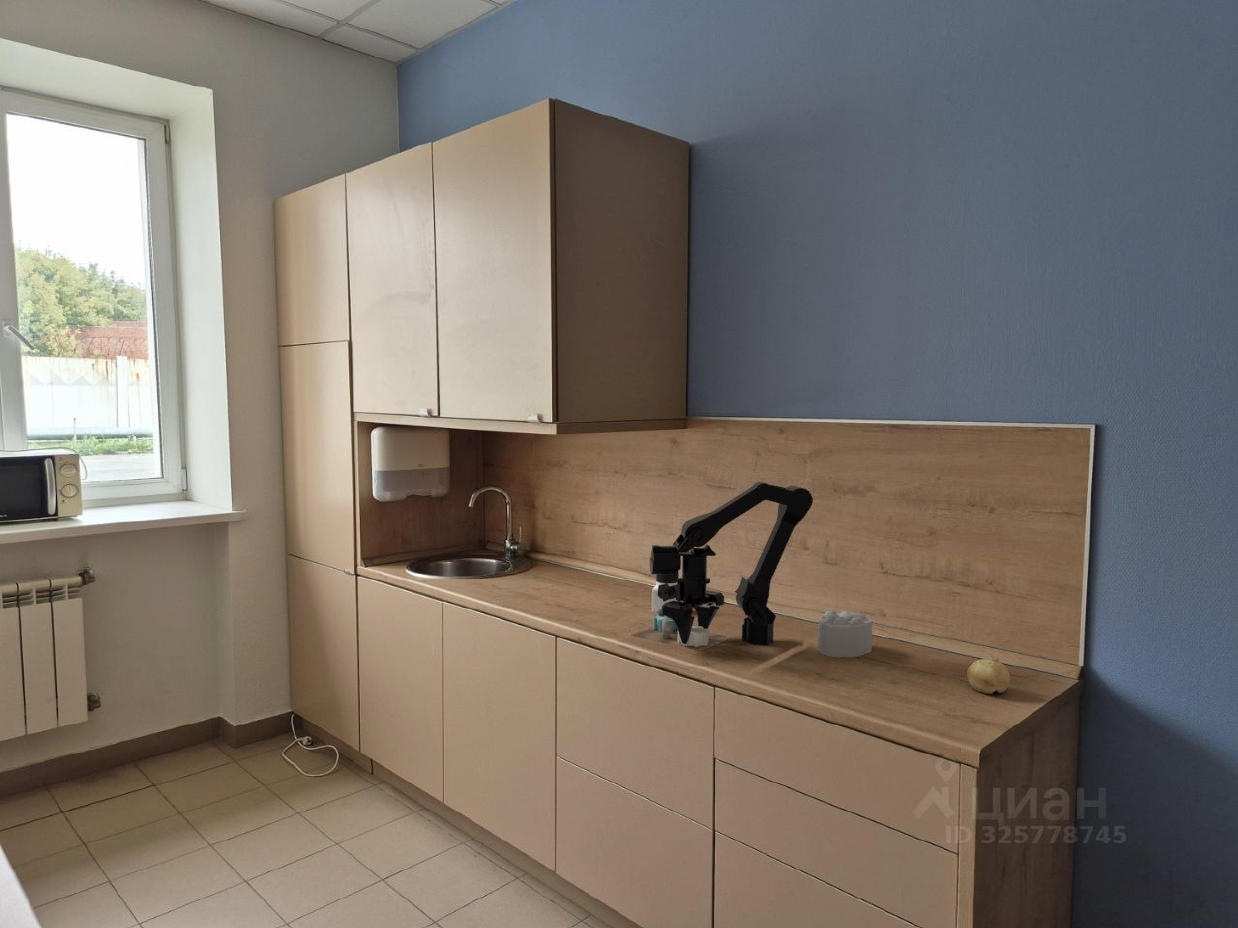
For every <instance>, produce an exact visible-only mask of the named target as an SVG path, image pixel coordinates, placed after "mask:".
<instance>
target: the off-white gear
mask: <svg viewBox="0 0 1238 928" xmlns="http://www.w3.org/2000/svg"><path fill="white" fill-rule="evenodd" d="M709 633H710V630H709V628H708V629H705V628H703V627H701V626H699V627H698V626H696V625H695V626H694V625H692V629H691V632H690V636H689V639H688V642H687V644H683V643H682V641H681V638H680V635H679V632H678V643H681V644H683V646H694V647H699V646H702V645H705V646H706V645H707V642H709Z"/></svg>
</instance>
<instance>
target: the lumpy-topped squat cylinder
mask: <svg viewBox="0 0 1238 928" xmlns="http://www.w3.org/2000/svg"><path fill="white" fill-rule="evenodd" d="M817 627H818V631H817V632H818V636H817V652H818V651H819V652H820V653H821V655H822V654H823V655H822V656H825V655H826V657H830V656H832V657H831V658H840V657H846V658H858V657H862V656H864V654H865V655H867V653H868V654H870V653H871V652H872V651H873V648H872V647H873V620H872V619H871V618H868V617H867V616H865V614H862V613H858V612H853V611H850V610H843V611H841V612H840V613H837V612H836V611H835V610H828V611H826V612H825V613H824V614H823V616H821V617H820V618H819V620H818V626H817ZM819 652H818V653H819ZM869 652H870V653H869ZM820 653H819V654H820ZM861 655H862V656H861ZM857 656H858V657H857Z"/></svg>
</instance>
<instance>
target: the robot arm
mask: <svg viewBox="0 0 1238 928" xmlns="http://www.w3.org/2000/svg"><path fill="white" fill-rule="evenodd" d="M764 501H769V502H772V503H777V504H778V507H777V517H776V521H775V523H774V525H773V528H772V529H771V532H770V534H769V537H768V539H767V541H766V544H765V545H764V548H763V550H762V552H761V555H760V557H759V559H758V561H757V564H756V566H755V568H754V570H753V572H752V573H751V575H750V576H749V577H748V578H746V577H744V576H741V578H740V581H739V585H738V587H737V589H735V591H734V593H735V594H736V596H735V601H736V604H737V606H738V607H739V608H740V610H742V612H743V613H744V616H746V617H745V618H743V623H742V624H741V625H742V626H741V641H744V642H746V643H747V644H750V645H753V646H754V645H756V646H768V645H771V644H773V643H774V625H775V624H774V623H775V620H776V618H777V616H776V614H775V613H774V612H773V611H772V610H771V609H770V608H769V607H768V606H767V604H768V602H769V601H768V600H769V598H770V597H769V596H770V590H771V588H770V587H771V581H772V579H773V577H774V574H775V572H776V570H777V568H778V565H779V563H780V562H781V559H782V556H783V555H784V553H785V550H786V547H787V546H788V543H789V540H790V538H791V536H792V534H793V531H794V529H795V527H797V525H798V524H799V523H800V522H801V521H802V520H803V519H804V518H805V517H806V515H807V513H808V512H809V510H810V509H811V507H812V506H813V503H814V498H813V495H812V493H811V492H810V490H808V489H806V488H804V487H801V486H798V485H789V486H786V487H783V486H779V485H776V484H775V485H774V484H770V483H766V482H764V481H757V482H755V483H754V484H753V485H752V486H751V487H750V488H747V489H746V490H744V491H743V492H741V493H739V494H738V495H737V496H735V497H733V498H731V499H730V500H729V501H726V503H724V504H723V505H721V506H719V507H717V508H716V509H714V510H712V511H710V512H707V513H704V514H701V515H697V516H695V517H693V518H690V519H689V520H686V521H685V522H684V523H683V524H682V526H681V529H680V530H681V533H679V535H678V537H677V538H676V539H675V540H674V542H673V543H672V545H659V544H652V545H651V552H650V557H649V572H650V575H653V576H654V575H655V576H656V575H675V574H676V572H679V571H680V570H681V577H680V578H679V579H678V580H677V584H676V585H672V586H669V585H668V584H667V583H666V584H662V585H658V594H657V595H658V596H659V598H661V599H662V600H663V602H665V601H667V600H671V599H674V598H676V600H677V601H670V602H667V603H665V604H664V605H663V606H662V615H663V616H668V617H669V618H672V619H673V620H674V621H675V623H676V626H677V628H678V632H679V635H680V638H681V641H682V643H683V644H687V642H688V639H689V636H690V632H691V629H692V626H694V622H695V618H696V617H695V615H694V616H693V613H694V612H693V609H694V610H695V611H696V613H697V627H699V626H701V627H703V628H705V629H708V630H709V627H710V625H711V623H712V621H713V620H714V618H715V616H716V614H717V612H718V610H720V606H724V605H725V596H724V595H723V593H722V592H720V591H714V590H708V589H707V585H708V584H710V583H711V578H708V577H707V576H708V572H707V571H708V570H707V569H708V557H715V556H716V555H717V553H716V552H715V551H714V550H713V549H712V548H711V546H710V545H709V544H708V543H709V542H710V541H711V540H712V539H713V538H714V537H716V535H717V534H718V533H719V531H720V530H721V529H722V528H723V527H725V526H726V525H728V524H729V523H731V522H733V521H734V520H736V519H738V518H739V517H740V516H741V515H743V514H745V513H747V512H748V511H750V510H751V509H753V508H754V507H756V506H758V505H759V504H761V503H762V502H764ZM681 557H682V558H681ZM681 562H682V563H681ZM681 568H682V569H681ZM679 601H682V602H679Z"/></svg>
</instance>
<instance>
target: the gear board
mask: <svg viewBox="0 0 1238 928" xmlns="http://www.w3.org/2000/svg"><path fill="white" fill-rule="evenodd" d="M664 617H665V618H669V617H668V616H664ZM670 628H671V621H668V620H664V621H662V632H658V630H654V629H653V626H652V627H649V628H647V629H644V630H641V631H639V632H636V633H632V634H630V636H631V637H636V638H640V639H645V640H650V641H654V642H659V643H662V644H667V645H672V646H678V647H683V648H686V649H691V650H695V651H701V652H702V651H704V650H707V649H709V648H711V647H713V646H716V645H719V644H721V643H723V642H725V641H727V640H730V639H732V636H727V635H722V634H717V633H711V632H709V642H707V645H706V646H705V645H702V646H699V647H694V646H683V644H681V643H678V632H673V633H670Z"/></svg>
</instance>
